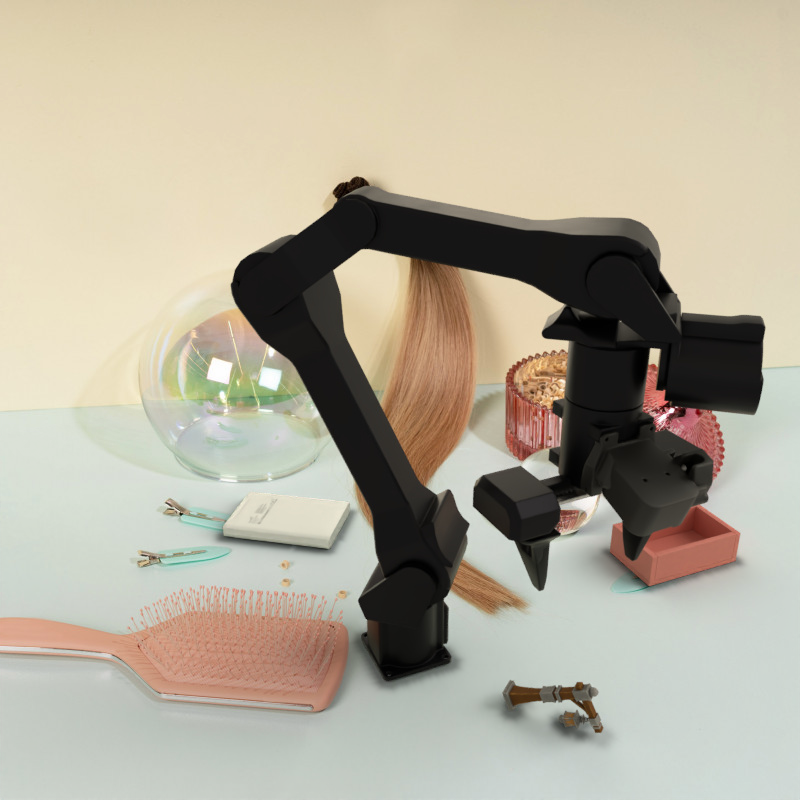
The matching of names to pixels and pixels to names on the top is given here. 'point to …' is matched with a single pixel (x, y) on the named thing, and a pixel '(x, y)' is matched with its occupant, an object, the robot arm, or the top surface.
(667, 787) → the top surface
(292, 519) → the hard drive
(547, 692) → the wooden post with brackets
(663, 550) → the tray
